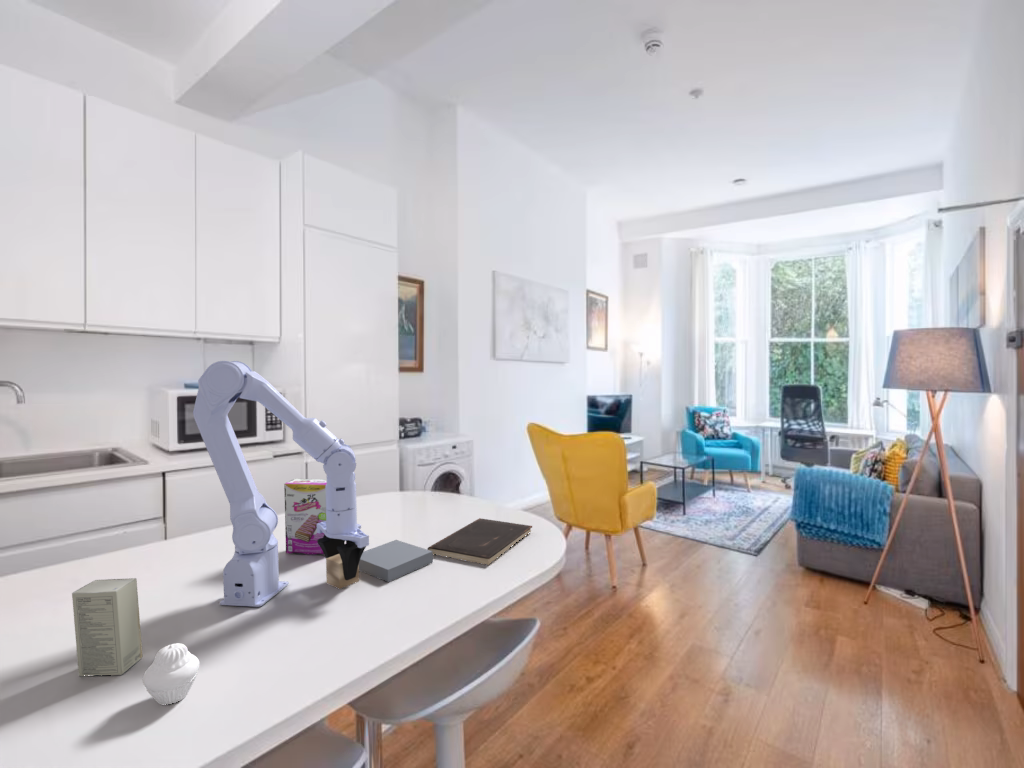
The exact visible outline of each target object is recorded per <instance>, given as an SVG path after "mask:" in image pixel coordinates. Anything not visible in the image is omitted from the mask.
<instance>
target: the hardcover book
mask: <svg viewBox="0 0 1024 768" xmlns="http://www.w3.org/2000/svg"><path fill="white" fill-rule="evenodd" d="M532 528H533V525H527V524H523V523H522V524H520V523H514V522H507V521H500V520H492V519H487V518H480V517H479V518H477V519H475V520H473V521H472V522H470V523H469V524H467V525H464V527H461V528H460V529H458V530H457V531H454V532H453V533H451V534H449V535H447V536H445V537H444V538H442V539H440V540H439V541H437V542H435V543H434V544H432V545H429V546H428V547H427V550H430V551H433V554H436V555H435V556H438V555H441V556H440V557H443V556H447V557H446V558H448V557H452V558H451V559H453V558H457V559H456V560H459V559H462V560H461V561H464V560H466V561H465V562H469V561H470V562H471V563H474V562H477V563H476V564H479V563H482V564H481V565H484V564H487V565H486V566H489V565H491V564H492V563H493V562H495V561H496V560H497V559H498V558H499V556H500V555H501V554H502V555H504V554H505V553H506V552H507V551H506V550H508V549H509V548H510V547H511V546H512V545H514V544H515V543H516V542H518V541H519V540H520V539H522V538H523V537H524V536H525V535H527V534H528V533H529V532H531V531H532ZM531 533H532V532H531ZM528 535H529V534H528ZM528 535H527V536H528ZM524 538H525V537H524ZM524 538H523V539H524ZM523 539H522V540H523ZM519 542H520V541H519ZM519 542H518V543H519ZM515 545H516V544H515ZM515 545H514V546H515ZM511 548H512V547H511ZM511 548H510V549H511ZM510 549H509V550H510ZM509 550H508V551H509ZM505 551H506V552H505ZM504 552H505V553H504ZM503 553H504V554H503ZM502 555H501V556H502ZM501 556H500V557H501ZM497 557H498V558H497ZM496 558H497V559H496ZM495 559H496V560H495ZM494 560H495V561H494ZM492 561H493V562H492ZM491 562H492V563H491ZM490 563H491V564H490Z"/></svg>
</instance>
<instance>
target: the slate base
mask: <svg viewBox="0 0 1024 768" xmlns="http://www.w3.org/2000/svg"><path fill="white" fill-rule="evenodd" d="M433 560H434V557H433V551H430V550H428V548H427V549H426V548H424V547H421V546H417V545H413V544H411V543H407V542H404V541H402V540H398V539H395V540H392V541H389V542H386V543H383V544H380V545H378V546H375V547H373V548H370V549H367V550H364V551H363V553H362V556H361V558H360V561H359V572H363V573H364V572H365V574H367V575H369V574H370V576H371V577H374V576H375V577H374V578H378V579H379V578H380V579H379V580H383V581H384V580H385V582H388V583H390V582H392V581H395V580H396V578H397V579H399V578H401V577H404V576H405V574H406V575H408V574H410V573H413V572H415V571H417V570H420V569H422V568H424V567H426V566H428V565H427V564H429V565H430V563H431V564H433V563H434V561H433ZM432 562H433V563H432ZM425 565H426V566H425ZM423 566H424V567H423ZM421 567H422V568H421ZM414 570H415V571H414ZM412 571H413V572H412ZM407 573H408V574H407ZM403 575H404V576H403ZM394 579H395V580H394Z"/></svg>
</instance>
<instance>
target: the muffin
mask: <svg viewBox="0 0 1024 768" xmlns="http://www.w3.org/2000/svg"><path fill="white" fill-rule="evenodd" d="M199 668H200V659H199V658H198V657H197V656H196V655H195V654H193V653H191V652H190V651H189V650H188V647H187V646H186V645H185V644H184V643H179V642H178V643H177V642H176V643H172V644H168V645H164V647H162V648H160V649H159V651H157V653H156V654H155V656H154V660H153V661H152V664H150V665H149V666H148V668H147V669H146V670H145V671H144V674H143V677H142V683H143V686H144V687H145V689H146V692H148V694H149V695H150V696H151V697H152V698H153V699H154V701H156V702H157V704H159V703H160V704H164V705H163V706H169V705H168V704H171V705H173V704H172V703H174V704H177V703H178V701H179V702H180V701H183V699H185V698H186V697H187V695H189V692H190V690H191V688H192V685H193V684H194V681H195V680H196V678H197V675H198V671H199ZM176 702H177V703H176ZM160 704H159V705H160ZM165 704H167V705H165Z"/></svg>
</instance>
